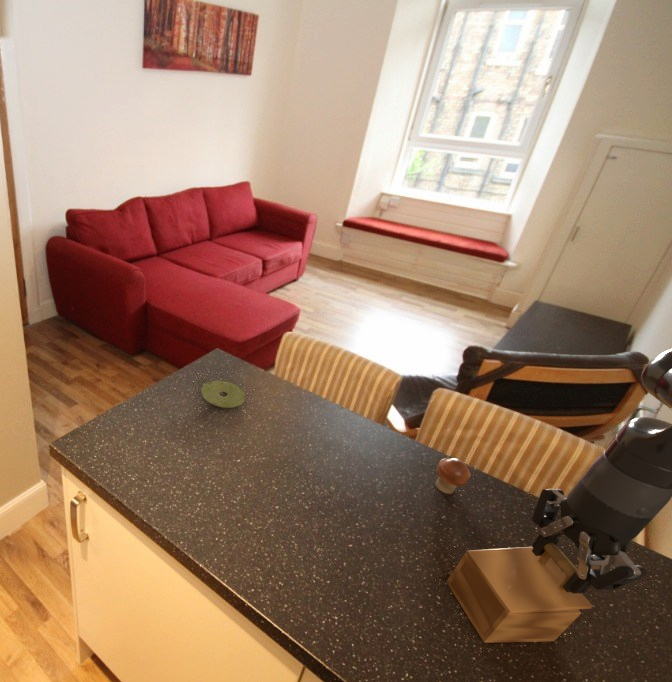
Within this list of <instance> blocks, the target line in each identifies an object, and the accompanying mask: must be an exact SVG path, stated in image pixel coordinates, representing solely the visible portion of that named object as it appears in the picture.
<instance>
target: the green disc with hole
mask: <svg viewBox="0 0 672 682" xmlns="http://www.w3.org/2000/svg"><path fill="white" fill-rule="evenodd" d="M200 390H201V391H200V392H201V395H202V397H203V399H204V400H205V401H206V402H208V403H210V404H211V405H213V406H216V407H219V408H225V409H227V408H228V409H229V408H236V407H239V406H241V405H242V404H244V403H245V401H246V393H245V392H244V390H243V389H242V388H241V386H238V385H237V384H235V383H232V382H229V381H226V380H211V381H208V382H206V383H205V384H203V386H201V389H200Z"/></svg>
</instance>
